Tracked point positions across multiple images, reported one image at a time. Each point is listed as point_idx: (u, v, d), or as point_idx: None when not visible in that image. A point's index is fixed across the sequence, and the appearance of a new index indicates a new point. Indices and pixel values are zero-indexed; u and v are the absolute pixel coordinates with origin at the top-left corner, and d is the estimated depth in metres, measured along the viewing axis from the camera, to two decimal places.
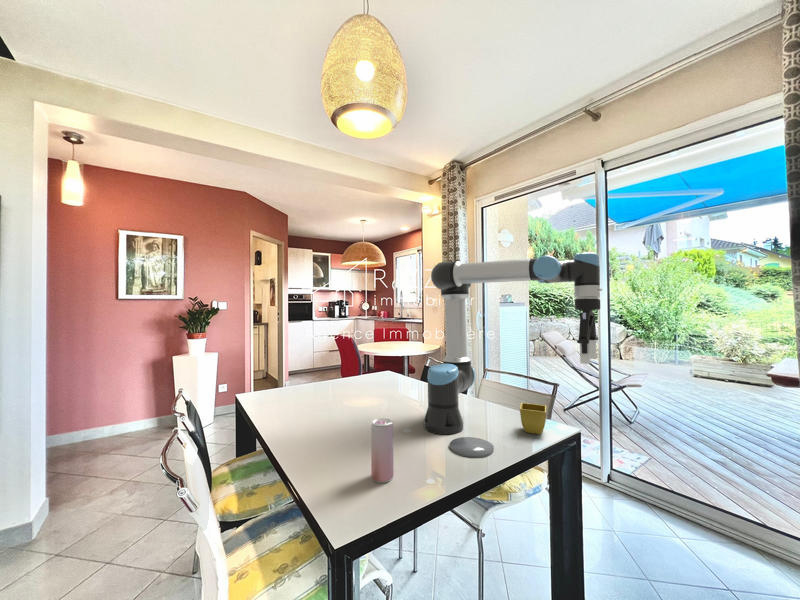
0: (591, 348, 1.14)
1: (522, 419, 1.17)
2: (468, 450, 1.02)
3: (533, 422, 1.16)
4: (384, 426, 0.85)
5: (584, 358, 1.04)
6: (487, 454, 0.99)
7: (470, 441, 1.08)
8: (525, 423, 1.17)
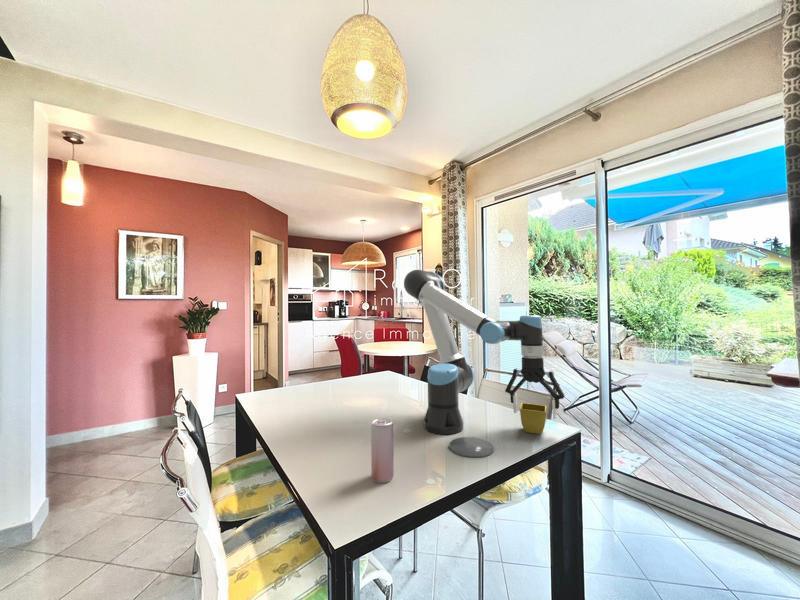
0: None
1: (522, 419, 1.17)
2: (468, 450, 1.02)
3: (533, 422, 1.16)
4: (384, 426, 0.85)
5: None
6: (487, 454, 0.99)
7: (470, 441, 1.08)
8: (525, 423, 1.17)
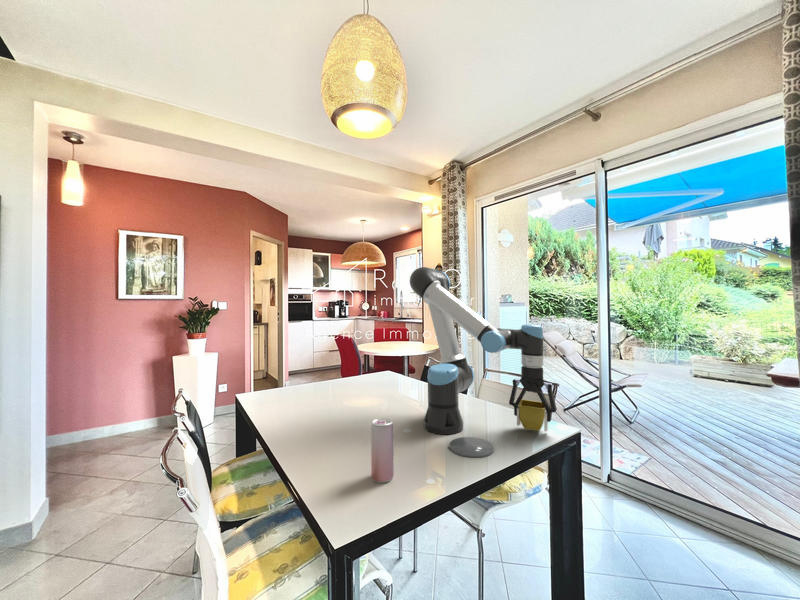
0: None
1: (521, 415, 1.17)
2: (468, 450, 1.02)
3: (532, 419, 1.16)
4: (384, 426, 0.85)
5: None
6: (487, 454, 0.99)
7: (470, 441, 1.08)
8: (524, 419, 1.17)
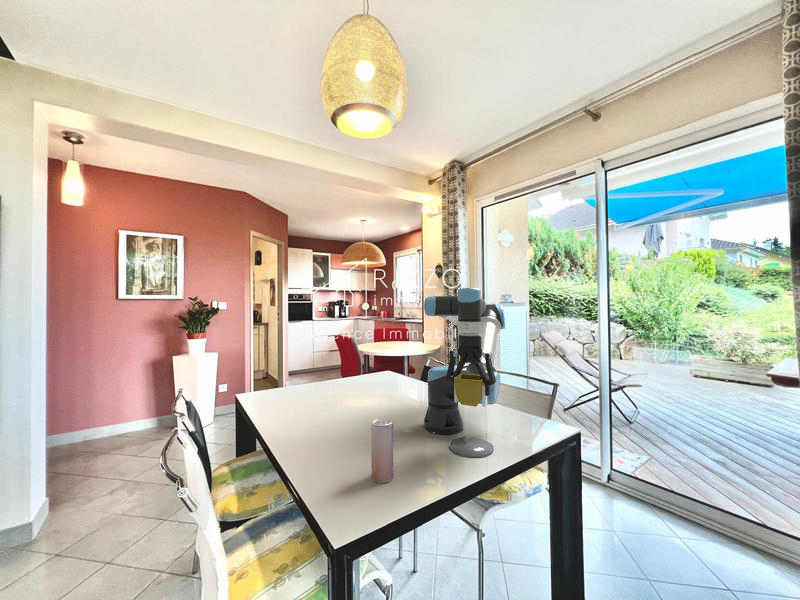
0: None
1: (457, 389, 1.03)
2: (468, 450, 1.02)
3: (468, 393, 1.02)
4: (384, 426, 0.85)
5: None
6: (487, 454, 0.99)
7: (470, 441, 1.08)
8: (460, 394, 1.03)
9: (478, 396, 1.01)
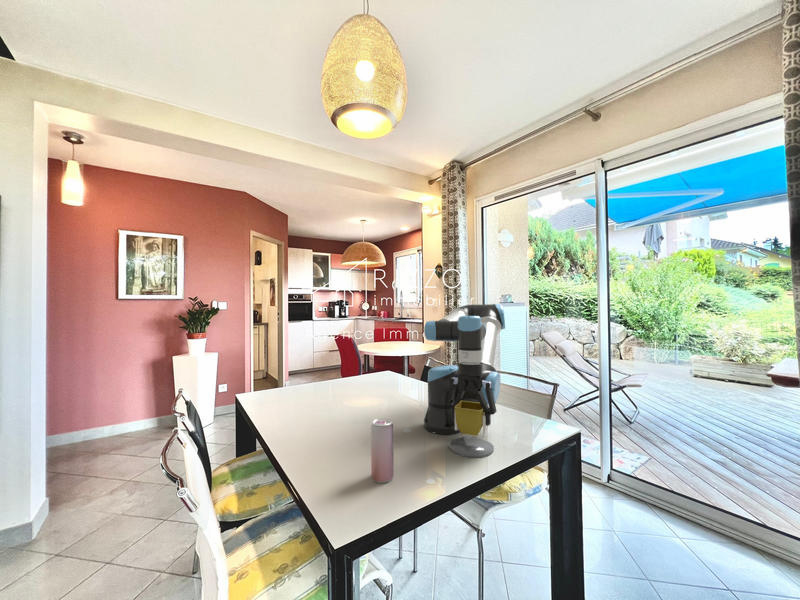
0: None
1: (457, 418, 1.03)
2: (468, 450, 1.02)
3: (468, 422, 1.02)
4: (384, 426, 0.85)
5: None
6: (487, 454, 0.99)
7: (470, 441, 1.08)
8: (460, 423, 1.03)
9: (478, 426, 1.00)
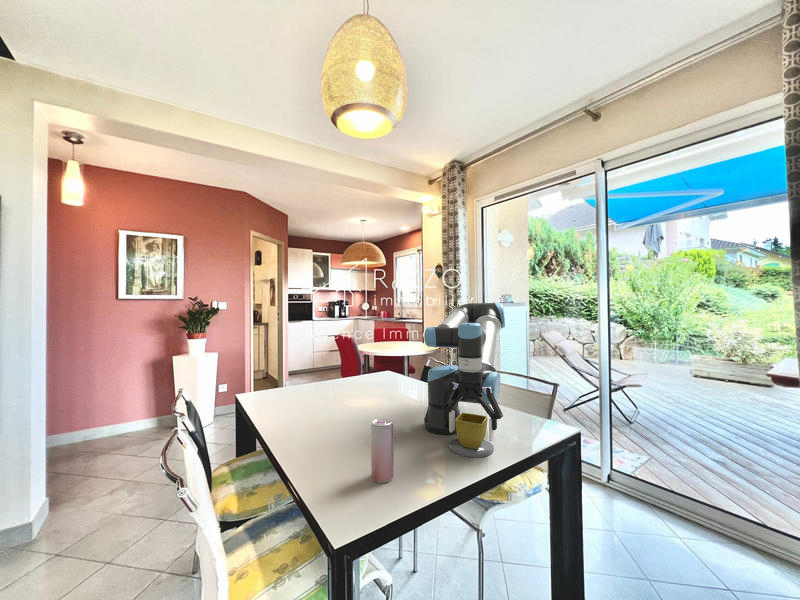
0: None
1: (458, 431, 1.03)
2: (468, 450, 1.02)
3: (469, 435, 1.02)
4: (384, 426, 0.85)
5: None
6: (487, 454, 0.99)
7: None
8: (461, 436, 1.03)
9: (479, 440, 1.00)
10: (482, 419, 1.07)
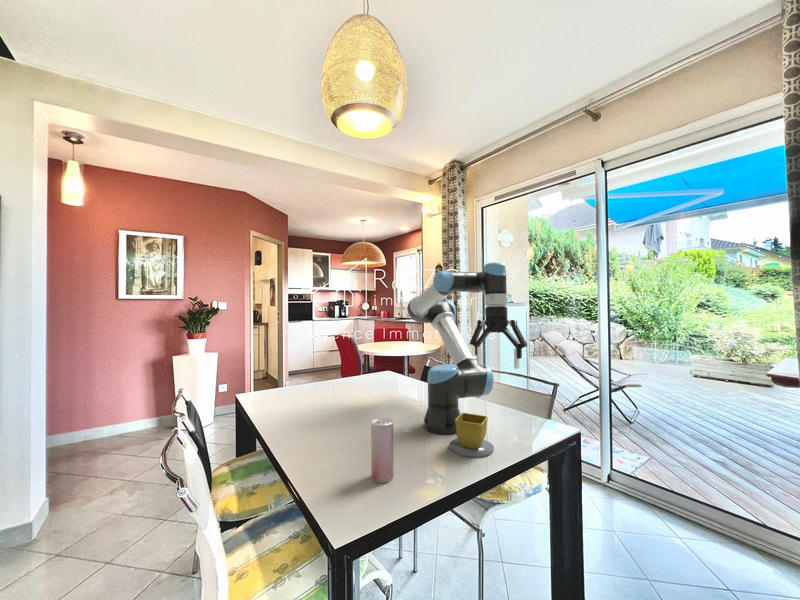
0: None
1: (458, 431, 1.03)
2: (468, 450, 1.02)
3: (469, 435, 1.02)
4: (384, 426, 0.85)
5: None
6: (487, 454, 0.99)
7: None
8: (461, 436, 1.03)
9: (479, 440, 1.00)
10: (482, 419, 1.07)
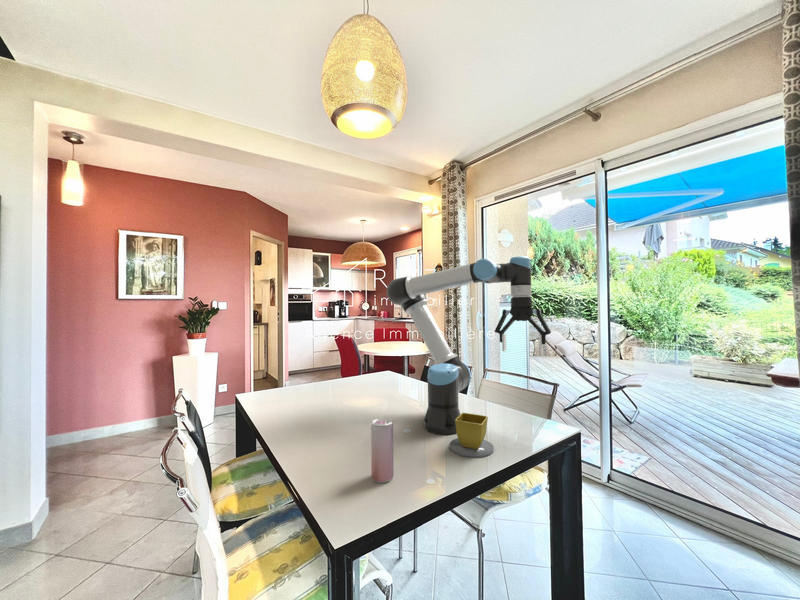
0: None
1: (458, 431, 1.03)
2: (468, 450, 1.02)
3: (469, 435, 1.02)
4: (384, 426, 0.85)
5: None
6: (487, 454, 0.99)
7: None
8: (461, 436, 1.03)
9: (479, 440, 1.00)
10: (482, 419, 1.07)
